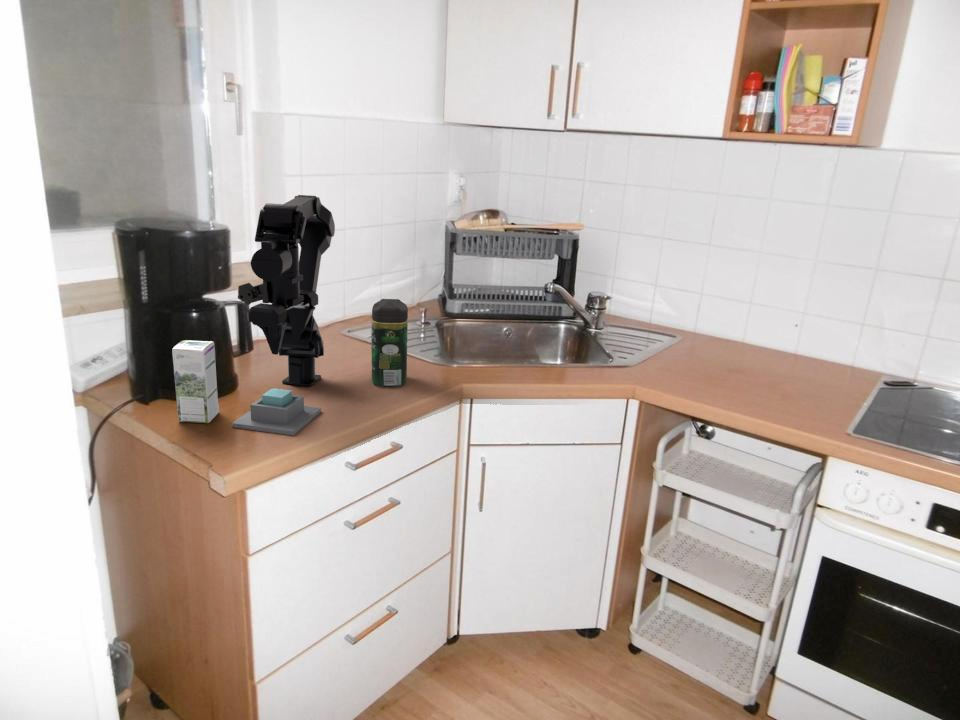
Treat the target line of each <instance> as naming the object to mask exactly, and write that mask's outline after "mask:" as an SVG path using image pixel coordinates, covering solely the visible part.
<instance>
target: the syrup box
mask: <svg viewBox="0 0 960 720" xmlns="http://www.w3.org/2000/svg"><path fill="white" fill-rule="evenodd" d="M171 349H172V351H171V352H172V353H171V355H172V363H173V375H174V384H175V386H174V387H175V398H176V407H177V408H176V409H177V418H178V422H179V423H195V424H197V423H198V424H209V423H210V422H211V421H213V419H215V418H216V417H217V415H218V414H219V413H220V407H219V397H218V385H217V384H218V383H217V382H218V381H217V367H216V363H217V362H216V349H215V342H214V341H211V340H210V341H208V340H204V341H203V340H191V339H190V340H188V339H185V340H181V341H179V342H178V343H177V344H176V345H174V346H173V348H171Z"/></svg>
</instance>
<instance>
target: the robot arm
mask: <svg viewBox="0 0 960 720" xmlns="http://www.w3.org/2000/svg"><path fill="white" fill-rule="evenodd" d="M256 226H257V227H256V230H255V237H254V242H255V243H256V242H257V243H260V248H259V249H258V250H256V251H255V252H254V253H253V254H252V257H251V260H250V267H251V270H252V272H253V274H255V276H256V277H258V279H259V278H260V279H261V280H262V283H261V282H260V283H257V284H254V285H253V284H252V283H251V282H247V283H244V284H240V285H238V288H237V289H238V290H237V300H240V302H242V303H244V306H249V305H251V304H252V303H257V302H259V301H261V302H260V303H258V304H255V305H253V306H251V307H250V308H248V310H247V311H246V313H247V317H246V318H247V323H251V324H252V325H253V326H257V327H258V328H259V329H261V330H262V333H263V335H264V336H265V339H266V341H267V344H268V346H269V349H270V351H271V354H272V355H276V356H279V357H282V356H285V357H286V356H287V369H288V374H287V375H288V376H287V377H286V378H284V379H282V381H281V383H282V384H286V385H287V384H288V385H294V386H302V387H312V385H314V384H315V383H316V382H318V381H319V380H320V379H321V378H322V375H320V374H316V359H318V358H320V357H323V356H324V355H325V347H324V341H323V338H322V336H321V333H320V330H319V325H318V323H317V321H316V319H315V317H314V311H315V310H316V306H317V305H319V295H318V294H317V287H318V281H319V274H320V268H321V267H320V266H321V262H322V261H321V259H322V255H324V253H326V252H327V250H328V249H329V248H330V247H331V244H332V238H333V237H334V236H335V233H336V232H335V231H336V228H335V227H336V225H335V220H334V217H333V214H332V211H330V209H328V208H327V207H326V206H324V204H322V201H321V199H320V197H318V196H316V195H310V194H309V195H306V194H297V195H294V198H293V199H290V200H288V201H287V202H284V203H273V202H272V203H270V202H269V203H268V202H267V203H265V204H264V205H263V206H262V208H261V209H260V211H259V215H258V220H257V225H256ZM299 247H300V248H299ZM299 250H300V252H299Z"/></svg>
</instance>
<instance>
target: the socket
mask: <svg viewBox="0 0 960 720" xmlns="http://www.w3.org/2000/svg"><path fill="white" fill-rule="evenodd" d="M249 407H250V410H249V411H247V412H246V413H245V414H243V415H242V416H241V417H239V418H237V419H235V420H234V421H233V422H232V424H231V425H232V428H236V429H244V430H249V431H250V430H251V431H258V432H264V433H265V432H266V433H272V434H277V435H287V436H292V435H293V436H295V435H296V434H298V433H299V432H300V431H301V430H302V429H303V428H304V427H305V426H306V425H308V424H309V423H310V422H311V421H312V420H313V419H314V418H316V417H317V416H318V415H319V414H320V413H321V412H322V407H316V406H309V405H305V396H303V395H297V394H296V395H295V394H292V402H291V403H290V404H289V405H288V406H286V407H285V408H284V407H276V406H269V405H262V396H261V397H260V398H258V399H256V401H254V402H252V403H251V404H250V406H249ZM293 436H292V437H293Z"/></svg>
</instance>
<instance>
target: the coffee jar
mask: <svg viewBox="0 0 960 720" xmlns="http://www.w3.org/2000/svg"><path fill="white" fill-rule="evenodd" d="M371 309H372V311H371V335H370V336H371V339H370V340H371V347H370V348H371V382H372V384H373V385H374V386H376V387H382V388H385V389H394V388H397V387H403V386H405V384H406V382H407V376H408V371H407V369H408V361H407V359H408V328H409V327H408V325H409V324H408V322H409V321H408V318H409V315H408V313H409V308H408V306H407V304H406V303H404V301H401V300H400V299H398V298H381V299H380V300H379V301H376V302H375V303H374V304H373V305H372V308H371Z"/></svg>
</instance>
